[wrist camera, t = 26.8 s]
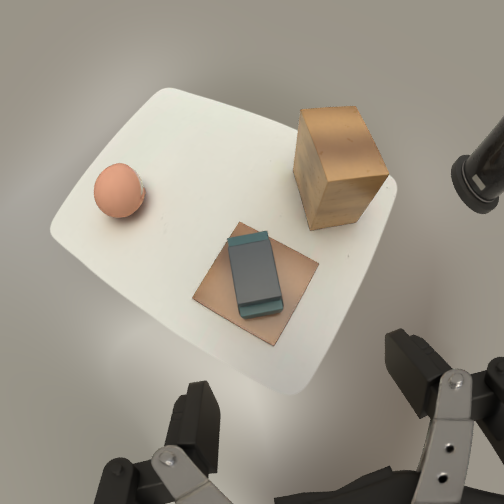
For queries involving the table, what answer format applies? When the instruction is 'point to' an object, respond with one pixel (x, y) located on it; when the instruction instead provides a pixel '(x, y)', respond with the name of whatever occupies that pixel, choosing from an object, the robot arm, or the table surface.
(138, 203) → the toy ball
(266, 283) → the toy van
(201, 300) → the mat
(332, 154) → the wooden block
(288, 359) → the table surface
